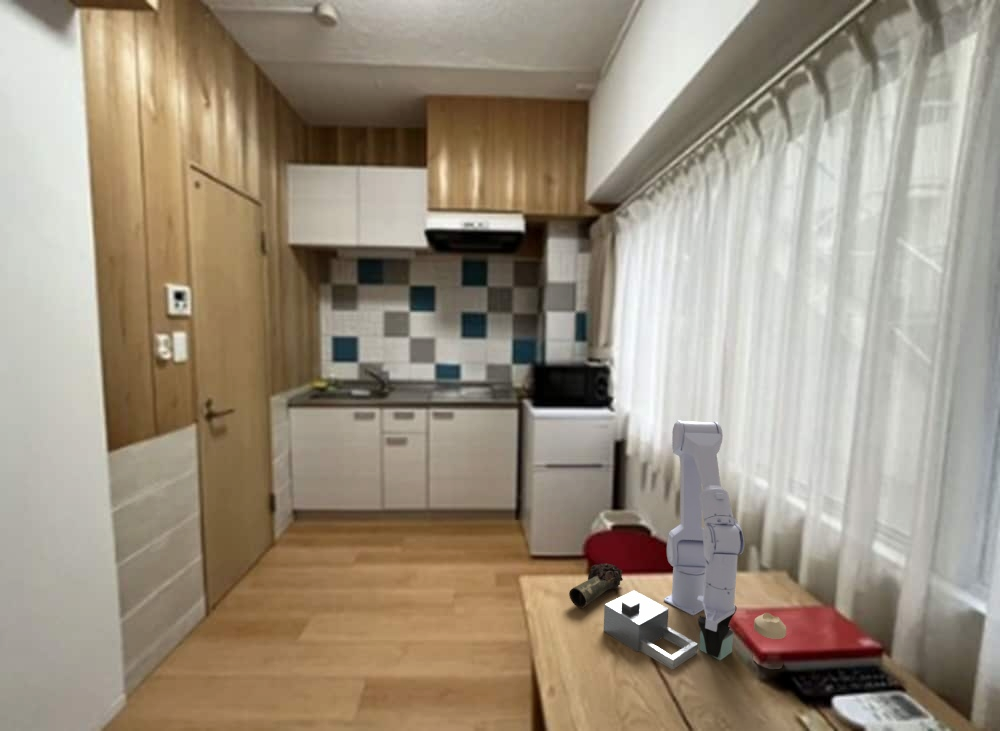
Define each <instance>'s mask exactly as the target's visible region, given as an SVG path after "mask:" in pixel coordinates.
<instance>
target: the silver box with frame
mask: <svg viewBox="0 0 1000 731" xmlns="http://www.w3.org/2000/svg"><path fill="white" fill-rule="evenodd" d="M603 610H604V612H603V632H604V633H606V634H608V635H609V636H611V637H612V638H614V639H615V640H617V641H619V642H621V643H622V644H624V645H625V646H626V647H628V648H630V649H632V650H633V651H635V652H641V653H644V654H645V655H646V656H648V657H650V658H651V659H654V660H655V661H656V662H658V663H660V664H662V665H664V666H665V667H667V668H668V669H670V670H675V669H676V668H677V667H679V666H680V665H682V664H684V662H686V661H688V660H690V658H692V657H694V656H696V655H697V654H698V650H699V648H698V647H699V644H698V643H697V642H695V641H694V640H692V639H690V638H688V637H686V636H685V635H683V634H682V633H680V632H678V631H676V630H674V629H673V628H671V627H669V626H668V625H669V610H670V609H669V608H668V607H666V606H664V605H663V604H661V603H659V602H658V601H655V600H653V599H651V598H650V597H648V596H646V595H644V594H642V593H641V592H638V591H636V590H632V591H629V592H628V593H626V594H624V595H622V596H619V597H618V598H617V597H616V599H615V598H614V599H613V600H611V601H609V602H607V603H605V604H604V609H603ZM662 638H663V639H664V640H666V641H668V642H670V643H671V644H673V645H675V646H676V647H679V648H681V649H678V651H676V652H674V653H673V654H671V653H668V652H667V651H666V650H664V649H662V648H660V647H659V646H657V645H655V644H654V643H656V642H657V641H659V640H660V639H662Z"/></svg>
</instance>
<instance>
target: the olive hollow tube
mask: <svg viewBox="0 0 1000 731" xmlns="http://www.w3.org/2000/svg"><path fill="white" fill-rule="evenodd" d="M589 571H590V572H589V573H588V576H587V580H585V581H583V582H582V583H580V584H577V585H576V586H574V587H572V588H571V589H570V590H569V593H568V595H569V599H570V601H571V602H572V604H574V605H575V606H576V607H577V608H579V609H584V608H585V607H587V606H588V605H589V604H590V603H592V602H593V601H595V600H596V599H597V598H598V597H600V596H601V595H602V594H604V593H605V592H607V591H608V590H611V589H618V587H619V586H621V581H623V577H622V576H623V570H622V569H619V568H618V566H616V565H613V564H610V563H599V564H593V565H592V566H591V567H590V570H589Z"/></svg>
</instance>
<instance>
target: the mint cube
mask: <svg viewBox="0 0 1000 731" xmlns="http://www.w3.org/2000/svg"><path fill="white" fill-rule="evenodd" d="M699 632H700V633H699V644H698V647H699V648H698V650H699V651H702V652H703V653H705V654H707V652H706V647H705V641H704V636H703V633H702V631H701V628H700V631H699ZM733 640H734V631H733V630H731V629H729V632H728V633H727V635H726V636H725V638H724V639H723V642H722V646H721V650H720V653H719V656H718V658H717V657H714V656H712V657H713V658H715V659H717V660H719V661H722V660H723V659H724V658H726V657H727V656H729V655H730V654H731V653H732V652H733Z"/></svg>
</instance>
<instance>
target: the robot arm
mask: <svg viewBox="0 0 1000 731" xmlns="http://www.w3.org/2000/svg"><path fill="white" fill-rule="evenodd" d="M671 431H672V432H671V433H672V435H671V436H672V440H671V441H672V444H671V446H672V454H673V455H674V454H675V455H677V456H679V457H678V458H679V464H680V465H679V466H680V467H679V468H680V471H679V475H680V478H679V479H680V484H679V485H680V489H679V492H680V493H679V494H680V495H679V496H680V497H679V498H680V501H679V503H680V505H679V506H680V508H679V510H680V515H679V516H680V524H679V525H677V526H676V527H675V528H673V529H671V530H670V531H669V532H668V536H667V543H666V557H667V561H668V564H670V566H672V567H673V568H672V569H673V570H672V586H671V588H672V589H671V594H670V595H668V596H666V597H664V598H663V601H664V602H665V603H668V604H669V605H671V606H674V607H675V608H677V609H678V610H681V611H683V612H684V613H686V614H688V615H691V616H695V615H697V614H698V613H701V612H702V611H704V615H705V616H703V615H699V617H698V619H697V622H698V623H697V624H698V627H699V628H700V629H701V631H702V633H703V636H704V641H705V647H706V652H707V653H706V654H707V655H708V656H711V657H713V656H714V657H713V658H715V657H717V658H718V656H719V653H720V650H721V646H722V642H723V639H724V638H725V636H726V635H727V633H728V632H729V630H731V627H730V626H729V625H730V622H731V621H732V618H733V617H734V615H735V614H736V613H737V606H736V605H735V597H736V585H737V569H738V557H739V556H738V555H741V554H742V553H743V552H744V549H745V538H744V537H745V536H744V532H743V529H742V527H741V526H740V524H739V522H738V520H737V519H736V518H734V513H733V510H732V505H731V501H730V497H729V496H730V495H729V492H728V491H727V490H726V489H724V488H723V487H722V485H721V478H720V472H719V471H720V469H719V461H718V454H719V452H720V449H721V447H722V446H721V445H722V443H723V430H722V426H721V425H720V424H719V422H717V421H712V422H711V421H686V420H685V421H684V420H683V421H682V420H676V421H675V423H674V424H673V427H672V430H671ZM702 517H703V518H702ZM703 522H704V523H703ZM703 524H704V527H703Z"/></svg>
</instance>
